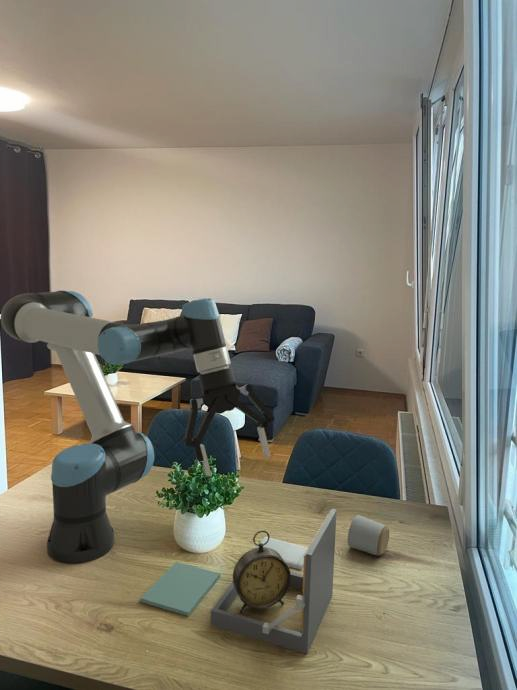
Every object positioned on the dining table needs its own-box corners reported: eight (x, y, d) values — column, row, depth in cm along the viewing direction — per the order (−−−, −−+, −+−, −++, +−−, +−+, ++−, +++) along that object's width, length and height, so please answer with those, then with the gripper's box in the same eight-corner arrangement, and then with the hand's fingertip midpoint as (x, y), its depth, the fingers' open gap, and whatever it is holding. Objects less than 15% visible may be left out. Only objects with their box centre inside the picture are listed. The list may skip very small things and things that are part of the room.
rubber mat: (140, 601, 109) (140, 598, 108) (175, 565, 121) (175, 561, 121) (188, 616, 105) (188, 612, 104) (220, 576, 117) (220, 573, 117)
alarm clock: (236, 619, 104) (238, 541, 101) (230, 601, 109) (231, 527, 106) (290, 609, 107) (293, 533, 104) (281, 593, 112) (284, 520, 110)
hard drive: (251, 552, 125) (302, 565, 120) (265, 535, 133) (313, 547, 128) (251, 558, 126) (301, 572, 121) (265, 541, 133) (313, 554, 128)
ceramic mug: (379, 562, 124) (381, 531, 123) (346, 552, 128) (347, 521, 127) (393, 543, 133) (396, 513, 132) (362, 533, 137) (364, 505, 136)
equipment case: (207, 628, 101) (208, 535, 98) (247, 573, 119) (249, 492, 116) (305, 658, 94) (309, 558, 91) (332, 595, 112) (336, 509, 109)
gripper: (160, 384, 110) (185, 486, 110) (273, 355, 117) (296, 450, 117) (156, 384, 117) (179, 480, 117) (262, 357, 124) (285, 446, 124)
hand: (238, 465), depth 117 cm, fingers open, 13 cm apart
